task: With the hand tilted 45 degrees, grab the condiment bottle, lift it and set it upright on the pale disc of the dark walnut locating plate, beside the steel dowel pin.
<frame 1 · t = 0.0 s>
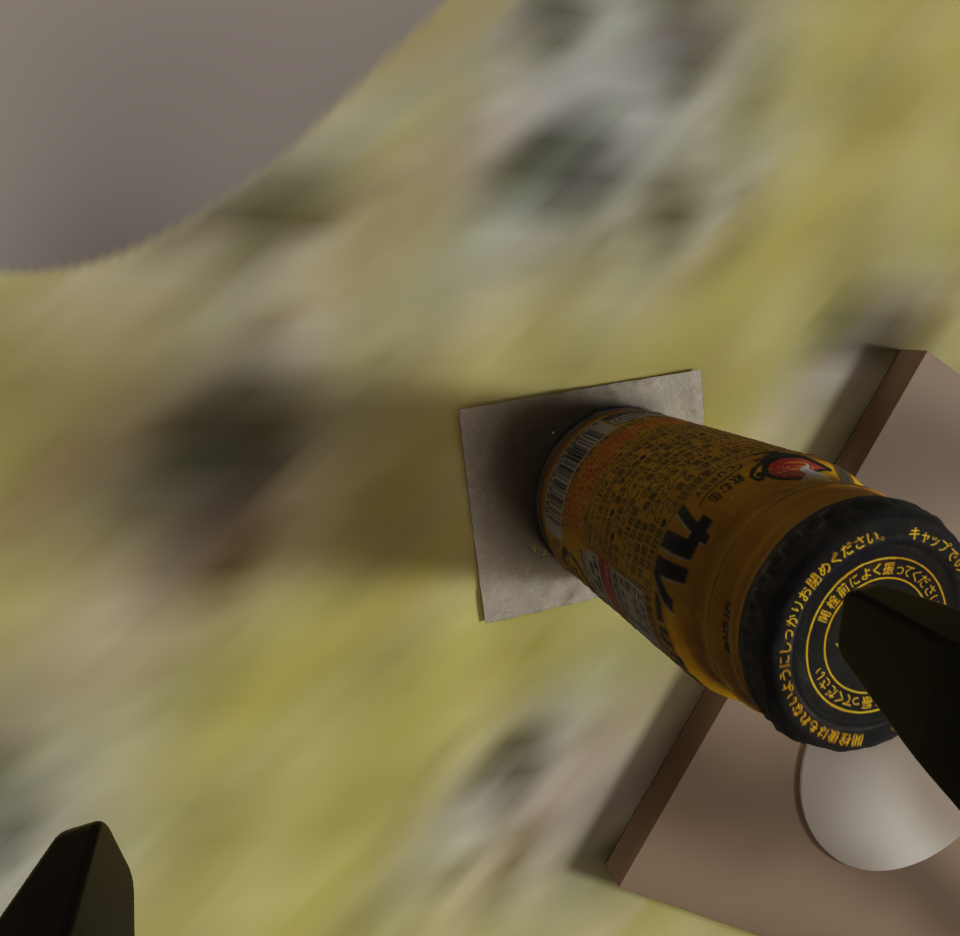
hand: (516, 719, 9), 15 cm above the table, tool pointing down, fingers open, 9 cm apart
locating plate: (910, 696, 31), on the table
condiment: (588, 493, 26), on the table
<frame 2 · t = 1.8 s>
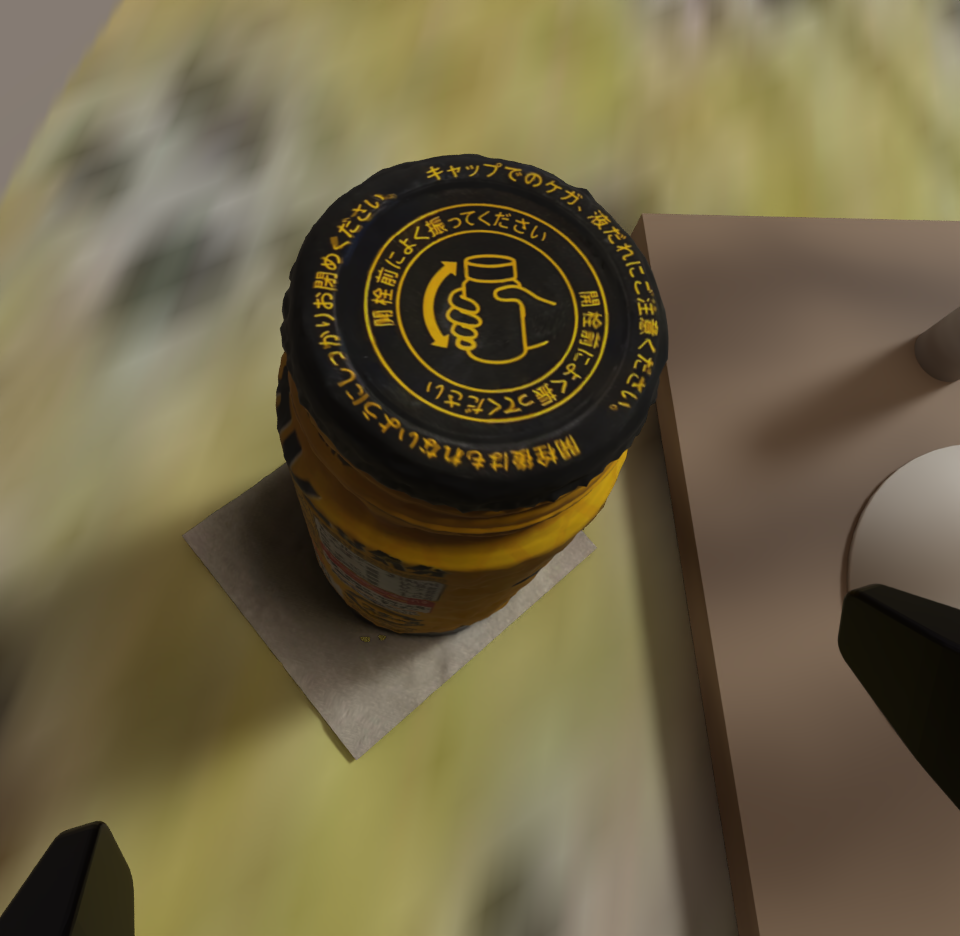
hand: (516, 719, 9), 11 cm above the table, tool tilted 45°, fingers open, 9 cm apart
condiment: (396, 545, 21), on the table
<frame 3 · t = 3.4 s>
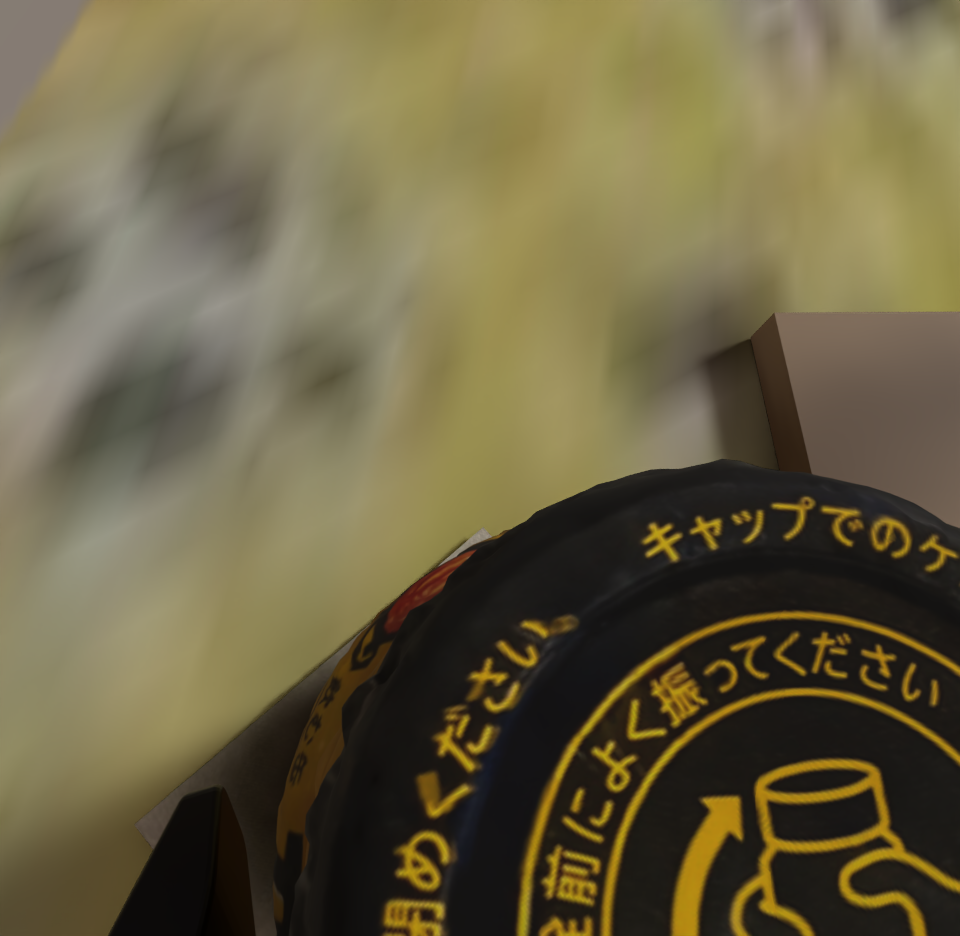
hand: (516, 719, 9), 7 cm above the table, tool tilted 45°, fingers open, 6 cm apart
condiment: (445, 808, 15), on the table, touching gripper
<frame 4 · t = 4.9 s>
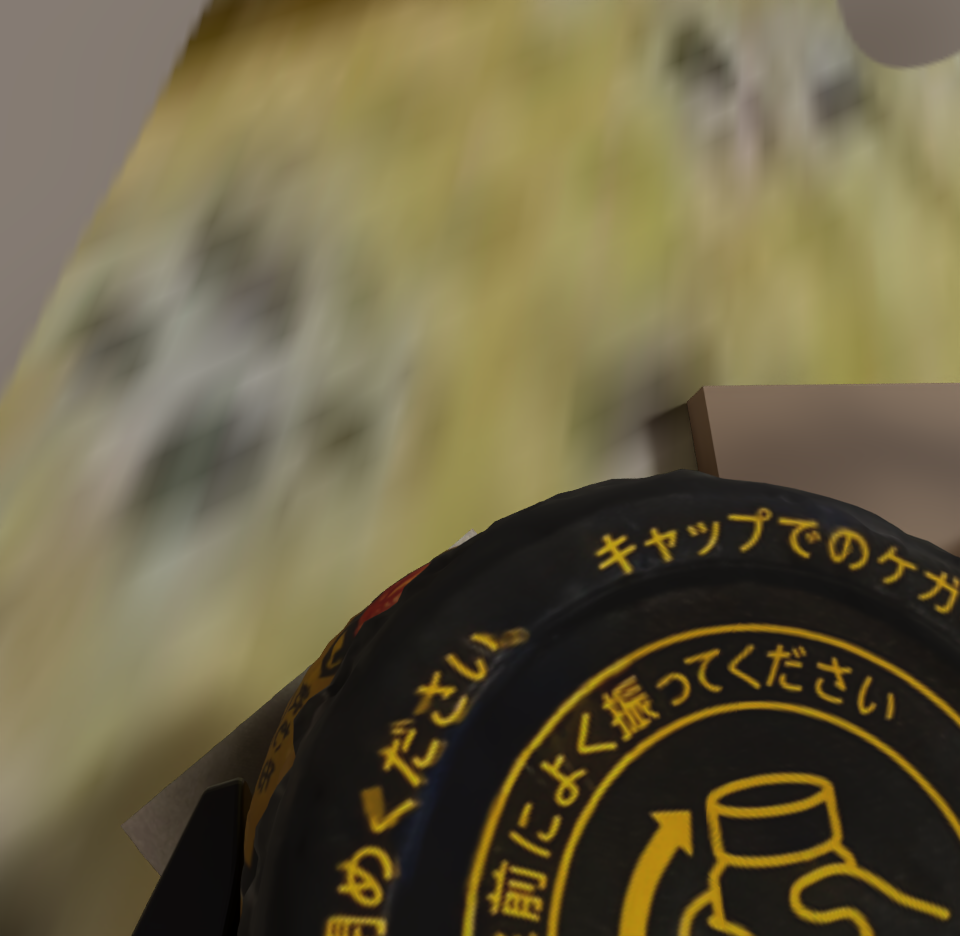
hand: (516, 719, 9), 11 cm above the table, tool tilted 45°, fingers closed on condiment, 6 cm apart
condiment: (432, 810, 15), point 4 cm above the table, touching gripper
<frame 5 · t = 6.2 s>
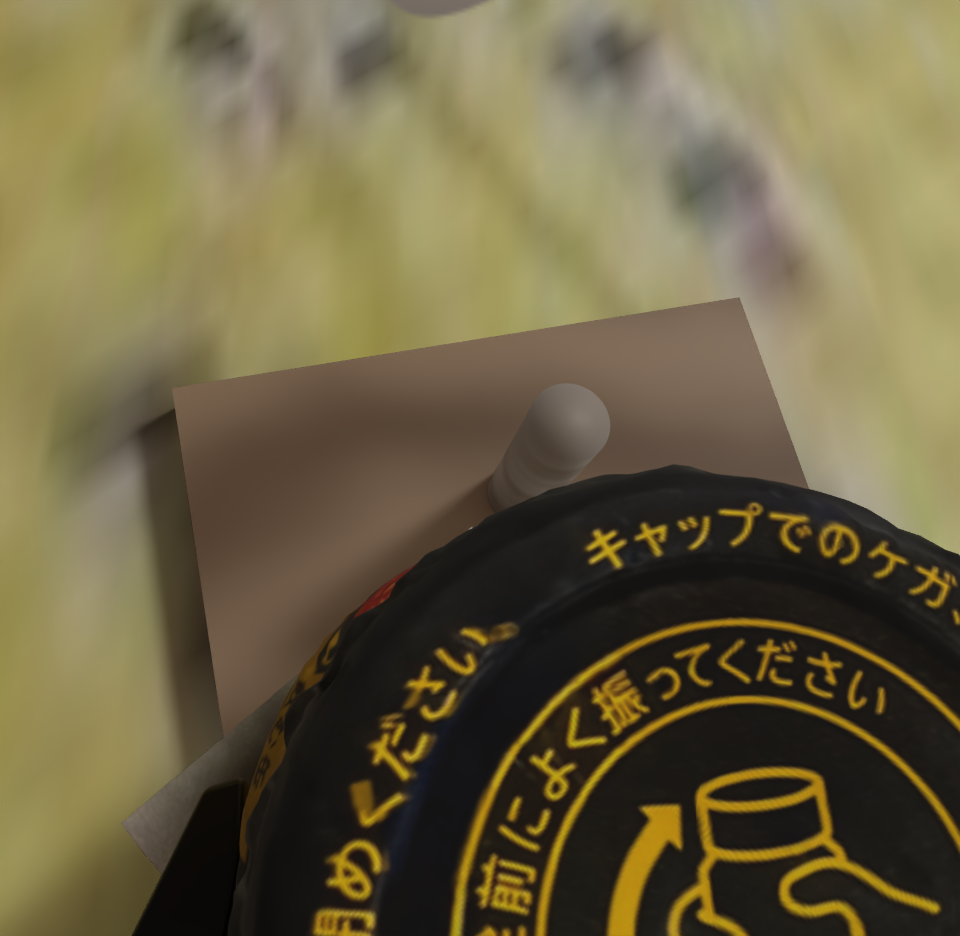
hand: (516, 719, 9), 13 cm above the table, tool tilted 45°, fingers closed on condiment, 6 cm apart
locating plate: (562, 703, 22), on the table
condiment: (432, 808, 15), point 6 cm above the table, touching gripper
when the fingers open (9 cm above the table, at t = 8.1 s): condiment stays where it is, resting on locating plate.
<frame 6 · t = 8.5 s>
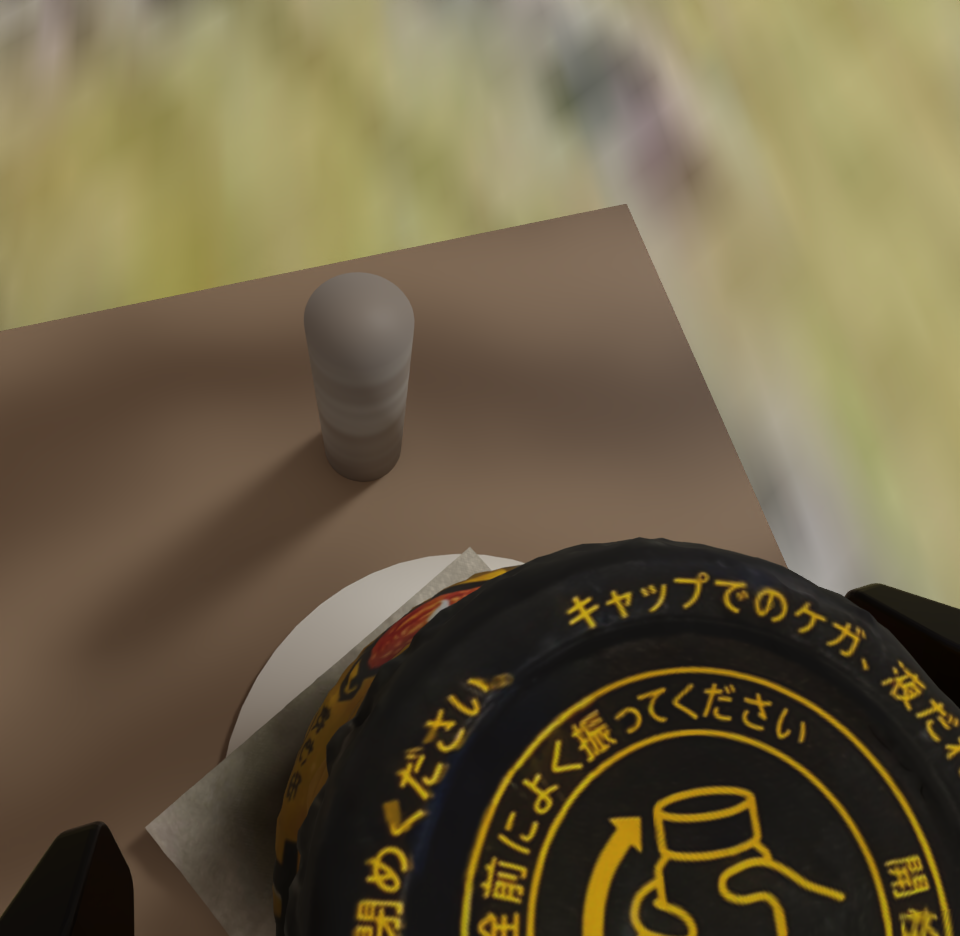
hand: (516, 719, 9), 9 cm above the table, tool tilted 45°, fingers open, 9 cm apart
locating plate: (434, 697, 18), on the table
condiment: (434, 811, 16), point 1 cm above the table, touching locating plate
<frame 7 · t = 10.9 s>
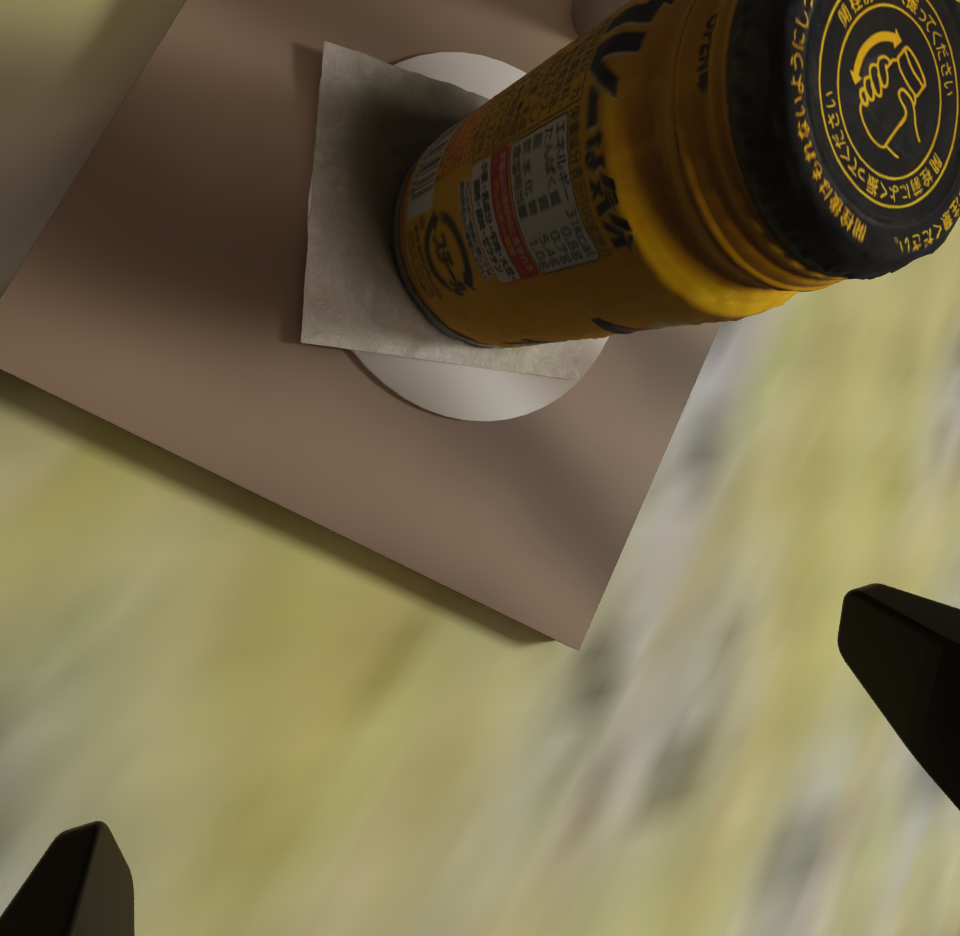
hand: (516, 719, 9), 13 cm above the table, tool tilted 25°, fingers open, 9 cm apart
locating plate: (490, 194, 23), on the table
condiment: (457, 232, 21), point 1 cm above the table, touching locating plate
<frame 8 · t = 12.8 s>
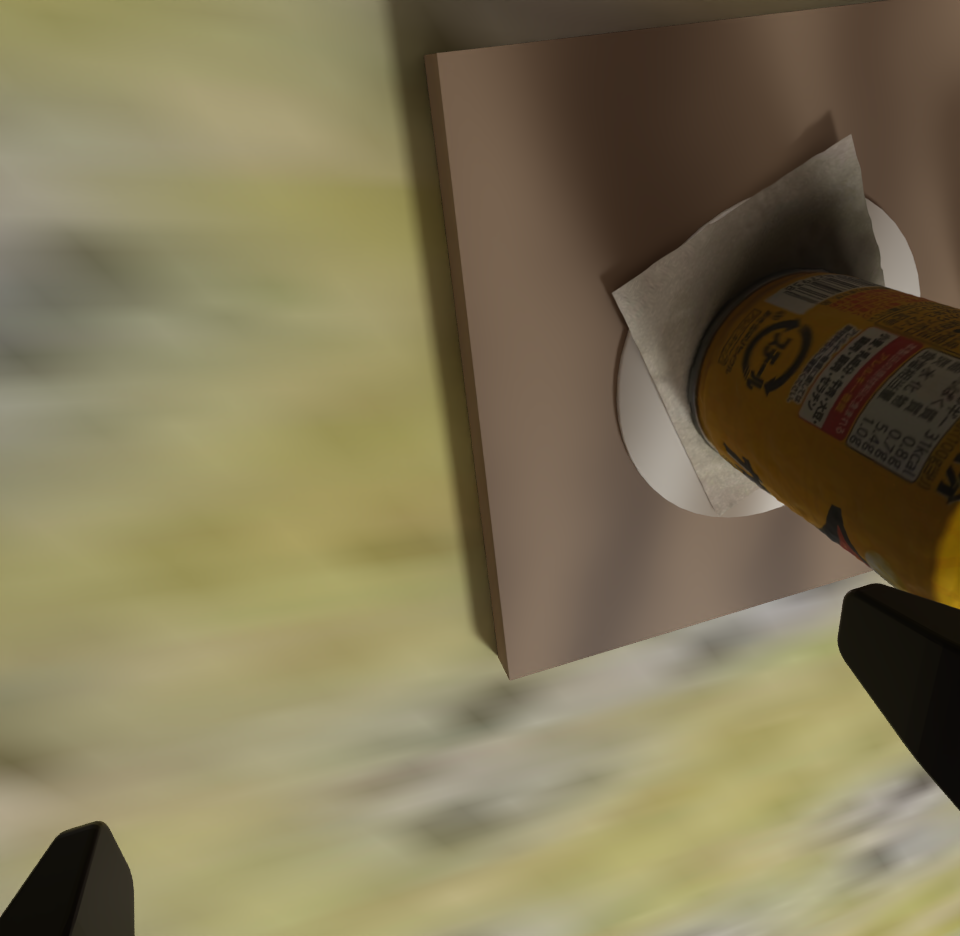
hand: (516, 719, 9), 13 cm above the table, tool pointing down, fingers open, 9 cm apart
locating plate: (803, 340, 24), on the table
condiment: (767, 340, 22), point 1 cm above the table, touching locating plate
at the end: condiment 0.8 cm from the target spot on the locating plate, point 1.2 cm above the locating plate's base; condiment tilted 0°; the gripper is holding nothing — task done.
